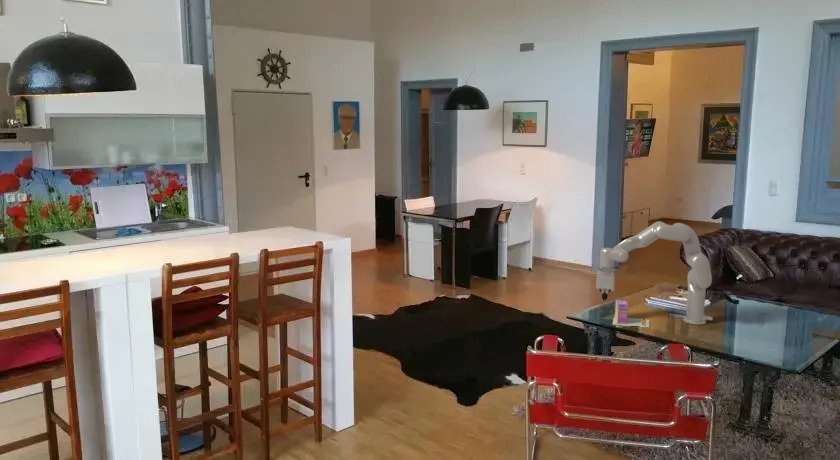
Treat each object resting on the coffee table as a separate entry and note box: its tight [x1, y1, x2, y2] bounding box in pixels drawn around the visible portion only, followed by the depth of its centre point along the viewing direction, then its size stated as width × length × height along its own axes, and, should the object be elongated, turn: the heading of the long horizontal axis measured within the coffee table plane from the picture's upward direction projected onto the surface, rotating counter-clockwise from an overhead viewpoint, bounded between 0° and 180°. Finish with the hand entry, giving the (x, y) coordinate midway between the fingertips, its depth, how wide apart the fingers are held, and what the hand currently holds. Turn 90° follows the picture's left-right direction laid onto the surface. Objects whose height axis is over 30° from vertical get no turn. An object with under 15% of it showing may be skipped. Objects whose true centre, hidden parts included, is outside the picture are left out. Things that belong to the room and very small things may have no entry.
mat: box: [612, 316, 650, 329], centre depth 389 cm, size 20×14×1 cm
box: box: [614, 298, 629, 324], centre depth 390 cm, size 10×6×12 cm, turn 172°
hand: (604, 299), depth 392 cm, fingers closed
